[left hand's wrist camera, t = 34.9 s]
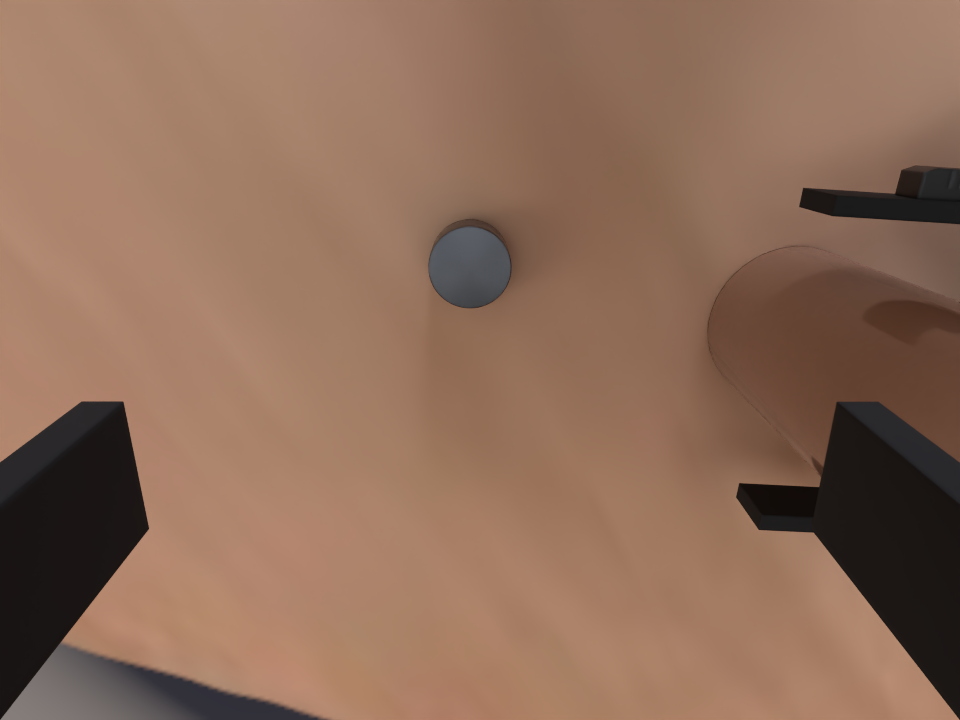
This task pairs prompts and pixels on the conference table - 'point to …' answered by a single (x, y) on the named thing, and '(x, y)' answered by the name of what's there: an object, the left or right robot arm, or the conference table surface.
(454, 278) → the cap
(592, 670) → the conference table surface
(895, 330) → the bottle
